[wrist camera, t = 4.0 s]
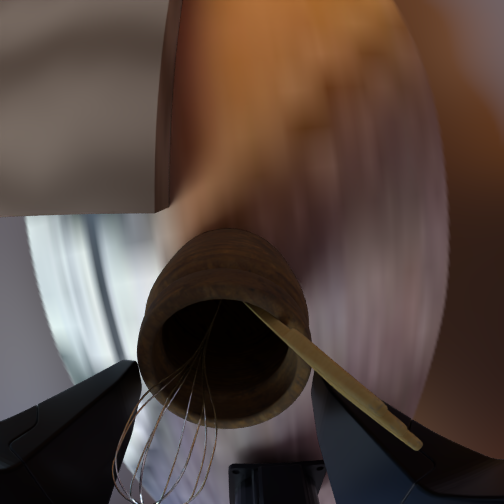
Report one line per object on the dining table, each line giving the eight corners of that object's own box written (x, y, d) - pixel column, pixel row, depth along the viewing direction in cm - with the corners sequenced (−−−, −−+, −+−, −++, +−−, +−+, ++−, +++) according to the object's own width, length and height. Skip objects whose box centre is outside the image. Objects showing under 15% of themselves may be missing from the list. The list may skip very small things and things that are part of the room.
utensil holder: (143, 283, 15) (0, 473, 3) (237, 193, 14) (240, 255, 2) (226, 361, 16) (220, 583, 4) (319, 284, 15) (459, 481, 4)
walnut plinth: (169, 206, 14) (154, 213, 12) (-29, 214, 14) (-54, 220, 11) (188, -39, 11) (182, -65, 9) (-4, 16, 11) (-24, 6, 8)
